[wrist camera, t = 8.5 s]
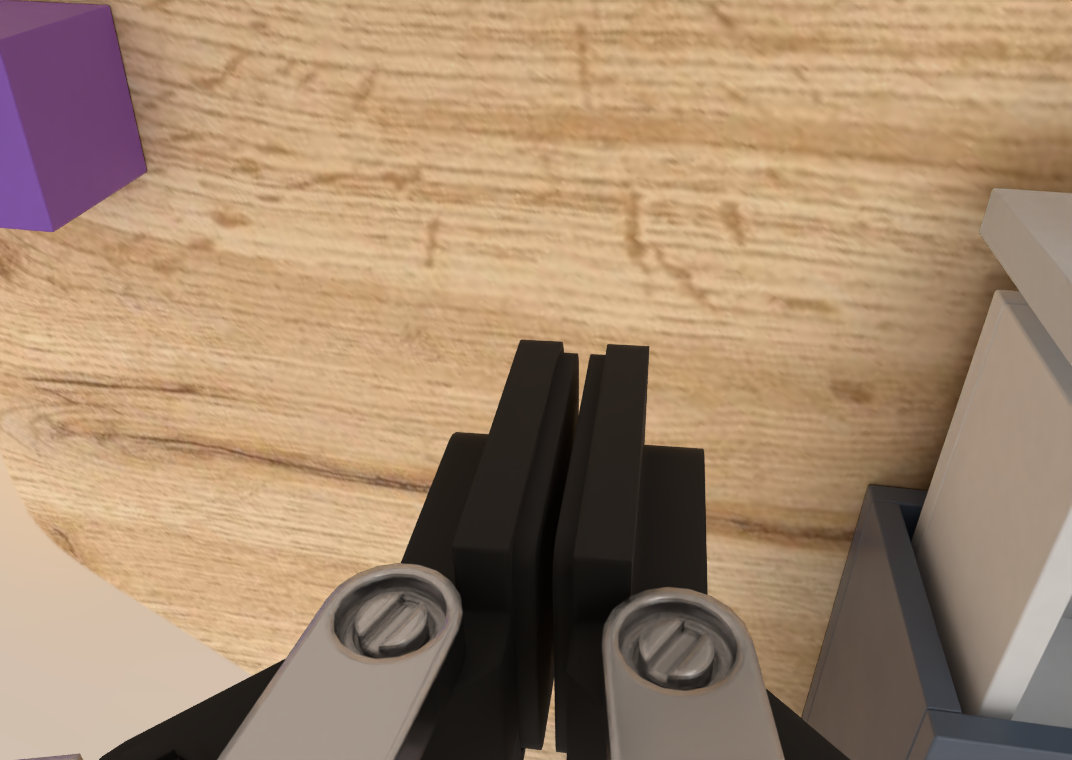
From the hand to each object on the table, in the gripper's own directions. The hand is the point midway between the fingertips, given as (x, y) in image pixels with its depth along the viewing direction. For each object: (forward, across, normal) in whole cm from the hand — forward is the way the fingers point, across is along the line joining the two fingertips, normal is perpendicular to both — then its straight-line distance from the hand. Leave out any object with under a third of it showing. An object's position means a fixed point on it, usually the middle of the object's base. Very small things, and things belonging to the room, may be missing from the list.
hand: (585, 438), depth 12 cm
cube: (+13, +16, -1) cm, 21 cm away
